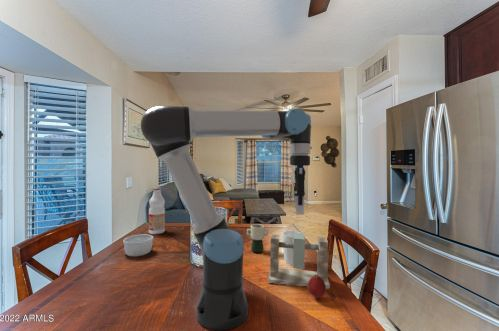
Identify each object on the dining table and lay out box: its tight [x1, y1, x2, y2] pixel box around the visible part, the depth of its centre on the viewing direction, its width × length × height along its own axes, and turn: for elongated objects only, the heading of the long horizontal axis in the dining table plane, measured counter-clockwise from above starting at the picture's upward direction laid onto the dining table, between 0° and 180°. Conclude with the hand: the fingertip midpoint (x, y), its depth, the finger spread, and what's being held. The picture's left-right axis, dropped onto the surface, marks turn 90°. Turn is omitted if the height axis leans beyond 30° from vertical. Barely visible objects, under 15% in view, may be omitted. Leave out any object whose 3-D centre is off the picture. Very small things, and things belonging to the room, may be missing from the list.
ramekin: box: [122, 233, 154, 257], centre depth 117 cm, size 13×13×7 cm
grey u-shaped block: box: [292, 232, 306, 270], centre depth 92 cm, size 4×8×11 cm, turn 171°
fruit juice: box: [148, 186, 166, 235], centre depth 149 cm, size 9×9×28 cm
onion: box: [307, 274, 327, 299], centre depth 79 cm, size 6×6×8 cm
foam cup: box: [281, 230, 302, 266], centre depth 108 cm, size 10×9×13 cm
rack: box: [267, 234, 331, 289], centre depth 92 cm, size 22×10×16 cm, turn 81°
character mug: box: [246, 223, 269, 253], centre depth 120 cm, size 11×7×13 cm, turn 85°
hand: (298, 210), depth 91 cm, fingers open, 13 cm apart
